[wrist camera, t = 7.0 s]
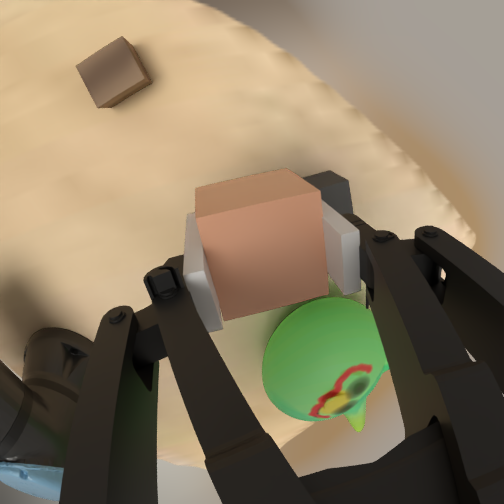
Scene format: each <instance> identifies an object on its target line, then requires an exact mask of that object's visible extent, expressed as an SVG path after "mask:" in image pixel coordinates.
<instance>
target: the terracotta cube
mask: <svg viewBox="0 0 504 504" xmlns="http://www.w3.org/2000/svg"><path fill="white" fill-rule="evenodd" d="M322 217H323V210H322V201H321V191H320V190H319V189H317V188H316V187H314V186H313V185H311V184H310V183H308V182H307V181H305V180H304V179H302V178H301V177H299V176H298V175H296V174H295V173H293V172H292V171H290V170H289V169H287V168H285V169H280V170H275V171H270V172H265V173H260V174H255V175H250V176H246V177H241V178H236V179H232V180H227V181H223V182H219V183H214V184H210V185H206V186H202V187H198V188H195V218H196V222H197V226H198V230H199V234H200V238H201V241H202V245H203V249H204V252H205V256H206V260H207V263H208V267H209V271H210V274H211V277H212V281H213V284H214V287H215V290H216V294H217V297H218V300H219V305H220V309H221V312H222V316H223V319H224V321H227V320H231V319H235V318H240V317H244V316H248V315H252V314H256V313H260V312H264V311H268V310H272V309H276V308H279V307H283V306H287V305H291V304H295V303H298V302H302V301H306V300H309V299H313V298H317V297H320V296H324V295H327V294H329V287H328V272H327V261H326V250H325V240H324V231H323V222H322Z"/></svg>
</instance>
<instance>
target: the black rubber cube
mask: <svg viewBox="0 0 504 504" xmlns="http://www.w3.org/2000/svg"><path fill="white" fill-rule="evenodd" d="M302 179H304V180H305V181H307V182H308V183H310V184H311V185H313V186H314V187H316V188H317V189H319V190H320V191H321V200H323V201H324V202H325V203H327V204H328V205H329V206H330V207H332V208H333V209H334V210H335V211H336V212H338V213H339V214H340V215H341V214H345V213H350V214H353V207H352V201H351V194H350V188H349V182H348V180H347V179H345V178H343V177H341V176H339V175H337V174H336V173H334V172H332V171H326V172H323V173H319V174H315V175H312V176H308V177H305V178H302ZM353 215H354V214H353Z"/></svg>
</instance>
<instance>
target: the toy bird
mask: <svg viewBox="0 0 504 504" xmlns="http://www.w3.org/2000/svg"><path fill="white" fill-rule="evenodd" d="M387 370H389V365H388V362H387V358H386V355H385V352H384V348H383V345H382V342H381V338H380V335H379V332H378V329H377V326H376V323H375V320H374V316H373V313H372V311H371V310H370V309H366V307H365V306H364V305H362V304H360V303H358V302H356V301H353V300H350V299H346V298H340V297H328V298H322V299H318V300H314V301H311V302H309V303H307V304H305V305H303V306H301V307H299V308H298V309H296V310H295V311H293V312H292V313H291V314H290V315H288V316H287V317H286V318H285V319H284V320H283V321H282V322H281V324H280V325H279V326H278V327H277V329H276V330H275V331H274V333H273V335H272V336H271V338H270V340H269V342H268V344H267V347H266V350H265V353H264V357H263V363H262V379H263V385H264V388H265V391H266V393H267V395H268V397H269V399H270V400H271V402H272V403H273V404H274V405H275V406H276V407H277V408H278V409H279V410H280V411H282V412H283V413H285V414H287V415H289V416H291V417H293V418H296V419H299V420H304V421H321V420H327V419H331V418H334V417H337V416H339V415H342V414H344V415H345V416H346V418H347V419H348V421H349V422H350V424H351V425H352V427H353V428H354V429H355V430H356V431H357V432H360V431H362V429H363V427H364V424H365V413H366V411H365V410H366V397H367V396H368V395H369V393H370V392H371V391H372V390H373V389H374V387H375V386H376V384H377V382H378V381H379V379H380V377H381V375H382V373H384V372H385V371H387Z"/></svg>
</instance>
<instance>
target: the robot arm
mask: <svg viewBox="0 0 504 504" xmlns="http://www.w3.org/2000/svg"><path fill="white" fill-rule="evenodd" d="M321 201H322V210H323V217H322V222H323V231H324V240H325V250H326V261H327V272H328V274H329V275H330V277H331V278H332V279H333V281H334V282H335V283H336V285H337V286H338V288H339V289H340V290H341V292H342V293H343V294H344V296H345V295H348V294H352V293H355V292H358V291H361V279H362V280H363V281H364V282H365V284H366V309H368V308H369V304H370V307H371V310H372V313H373V316H374V320H375V323H376V326H377V329H378V332H379V335H380V338H381V342H382V345H383V348H384V352H385V355H386V358H387V362H388V365H389V369H390V372H391V376H392V380H393V383H394V387H395V390H396V394H397V398H398V402H399V406H400V410H401V414H402V419H403V423H404V427H405V440H403V441H402V442H401V443H400V444H398V445H397V446H396V447H395V448H393V449H392V450H391V451H389V452H388V453H387V454H385V455H384V456H383V457H381V458H380V459H378V460H377V461H375V462H373V463H368V464H362V465H355V466H348V467H339V468H330V469H326V470H322V471H319V472H316V473H313V474H310V475H306V476H302V477H299V478H298V476H297V475H296V474H295V472H294V471H293V469H292V468H291V466H290V465H289V463H288V462H287V460H286V459H285V457H284V456H283V454H282V453H281V451H280V449H279V448H278V446H277V445H276V443H275V442H274V440H273V439H272V437H271V436H270V435H269V434H268V433H266V432H265V431H264V429H263V428H262V426H261V425H260V423H259V421H258V420H257V418H256V417H255V415H254V413H253V412H252V410H251V408H250V406H249V405H248V403H247V401H246V400H245V398H244V396H243V395H242V393H241V391H240V389H239V388H238V386H237V384H236V382H235V381H234V379H233V377H232V375H231V374H230V372H229V370H228V368H227V366H226V365H225V363H224V361H223V359H222V357H221V356H220V354H219V352H218V350H217V348H216V346H215V345H214V343H213V341H212V339H211V337H210V335H209V332H213V331H217V330H221V329H223V326H222V319H221V312H220V305H219V300H218V297H217V294H216V290H215V287H214V284H213V281H212V277H211V274H210V271H209V267H208V263H207V260H206V256H205V252H204V249H203V245H202V241H201V238H200V234H199V230H198V226H197V222H196V218H195V212H194V213H191V214H187V220H186V233H185V248H184V255H180V256H176V257H172V258H169V259H168V260H167V261H166V262H165V264H164V265H163V266H159V267H157V268H154V269H152V270H151V271H150V272H148V273H147V274H146V275H145V277H144V280H143V281H144V283H145V286H146V288H147V291H148V293H149V295H150V298H151V300H152V304H151V305H150V306H148V307H146V308H144V309H142V310H140V311H138V312H135V313H134V311H133V309H132V308H131V307H130V306H119V307H115V308H113V309H112V310H109V311H108V312H107V313H106V314H105V315H104V316H103V318H102V320H101V322H100V325H99V328H98V331H97V334H96V338H95V341H94V344H93V343H92V342H91V341H89V340H88V339H86V338H84V337H83V336H81V335H79V334H77V333H74V332H72V331H68V330H65V329H60V328H45V329H42V330H39V331H37V332H36V333H34V334H33V335H32V337H31V338H30V340H29V342H28V344H27V346H26V348H25V351H24V369H23V377H22V381H21V380H20V379H19V378H18V377H17V376H16V375H15V374H14V373H13V372H12V371H11V370H10V369H9V368H8V367H7V366H6V365H5V364H4V363H3V362H2V361H1V360H0V481H2V482H3V483H5V484H7V485H8V486H10V487H12V488H15V489H17V490H19V491H22V492H24V493H27V494H30V495H33V496H36V497H40V498H44V499H48V500H53V501H59V504H158V494H157V402H158V378H159V360H161V359H163V358H165V357H167V356H168V357H169V360H170V363H171V366H172V369H173V372H174V375H175V378H176V381H177V384H178V387H179V390H180V393H181V395H182V398H183V401H184V404H185V406H186V409H187V412H188V414H189V417H190V420H191V422H192V425H193V427H194V430H195V432H196V435H197V437H198V440H199V442H200V445H201V447H202V449H203V452H204V454H205V458H206V459H205V465H206V468H207V470H208V473H209V475H210V477H211V480H212V482H213V484H214V486H215V489H216V491H217V493H218V495H219V497H220V499H221V502H222V504H504V397H503V395H502V393H503V394H504V273H502V272H501V271H500V270H499V269H497V268H496V267H495V266H493V265H492V264H491V263H489V262H488V261H487V260H485V259H484V258H482V257H481V256H480V255H478V254H477V253H475V252H474V251H473V250H471V249H470V248H468V247H467V246H465V245H464V244H463V243H461V242H460V241H458V240H457V239H455V238H454V237H452V236H451V235H449V234H448V233H446V232H445V231H443V230H442V229H439V228H437V227H433V226H423V227H419V228H417V229H416V230H415V239H407V240H399V238H398V237H397V235H396V234H394V233H392V232H390V231H384V230H378V231H376V230H375V229H373V228H372V227H371V226H369V225H368V224H366V223H365V222H364V221H363V220H362V219H360V218H359V217H358V216H356V215H353V214H350V213H345V214H341V215H340V214H339V213H338V212H336V211H335V210H334V209H333V208H332V207H330V206H329V205H328V204H327V203H325V202H324V201H323V200H321ZM442 269H443V270H444V271H445V273H446V277H445V280H444V279H443V278H441V270H442ZM465 348H466V349H467V351H468V352H469V353H470V354H471V355H472V356H473V357H474V359H475V360H476V362H473V361H472V360H471V359H470V358H469V355H468V353H467V351H466V349H465Z"/></svg>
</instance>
